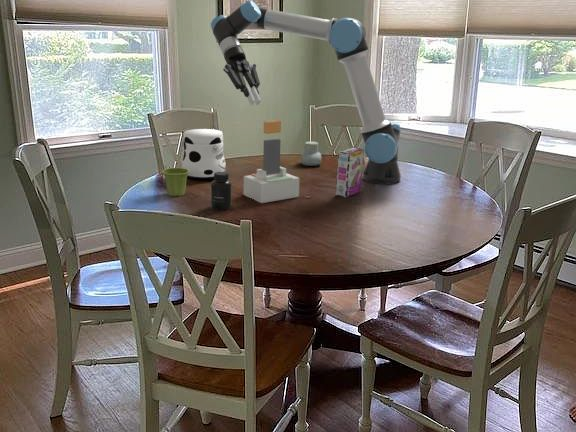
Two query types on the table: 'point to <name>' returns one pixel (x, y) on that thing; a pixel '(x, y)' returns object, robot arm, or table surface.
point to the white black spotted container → (203, 153)
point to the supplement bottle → (221, 191)
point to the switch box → (271, 186)
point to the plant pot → (176, 180)
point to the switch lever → (272, 148)
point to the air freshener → (311, 154)
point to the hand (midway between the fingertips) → (255, 102)
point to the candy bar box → (349, 172)
